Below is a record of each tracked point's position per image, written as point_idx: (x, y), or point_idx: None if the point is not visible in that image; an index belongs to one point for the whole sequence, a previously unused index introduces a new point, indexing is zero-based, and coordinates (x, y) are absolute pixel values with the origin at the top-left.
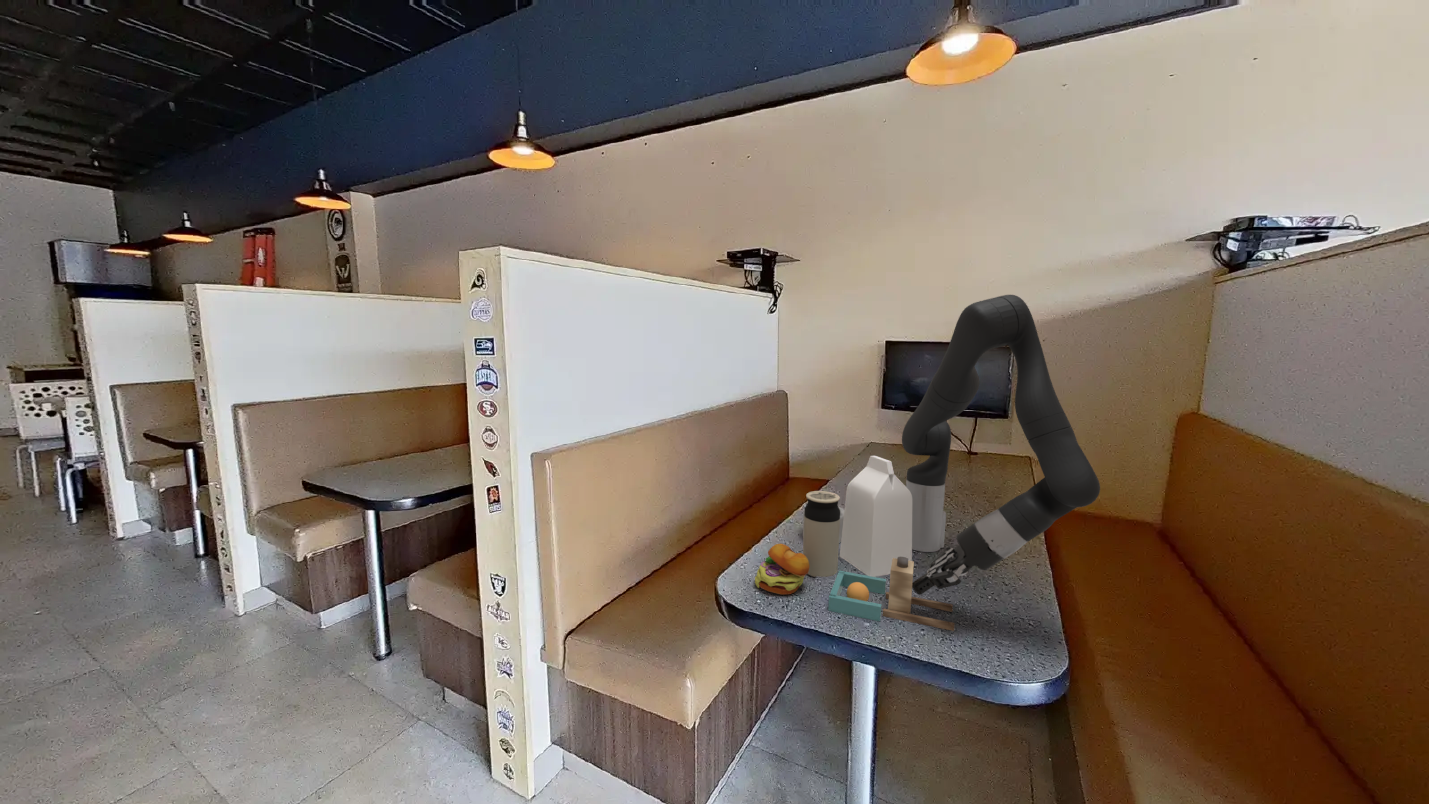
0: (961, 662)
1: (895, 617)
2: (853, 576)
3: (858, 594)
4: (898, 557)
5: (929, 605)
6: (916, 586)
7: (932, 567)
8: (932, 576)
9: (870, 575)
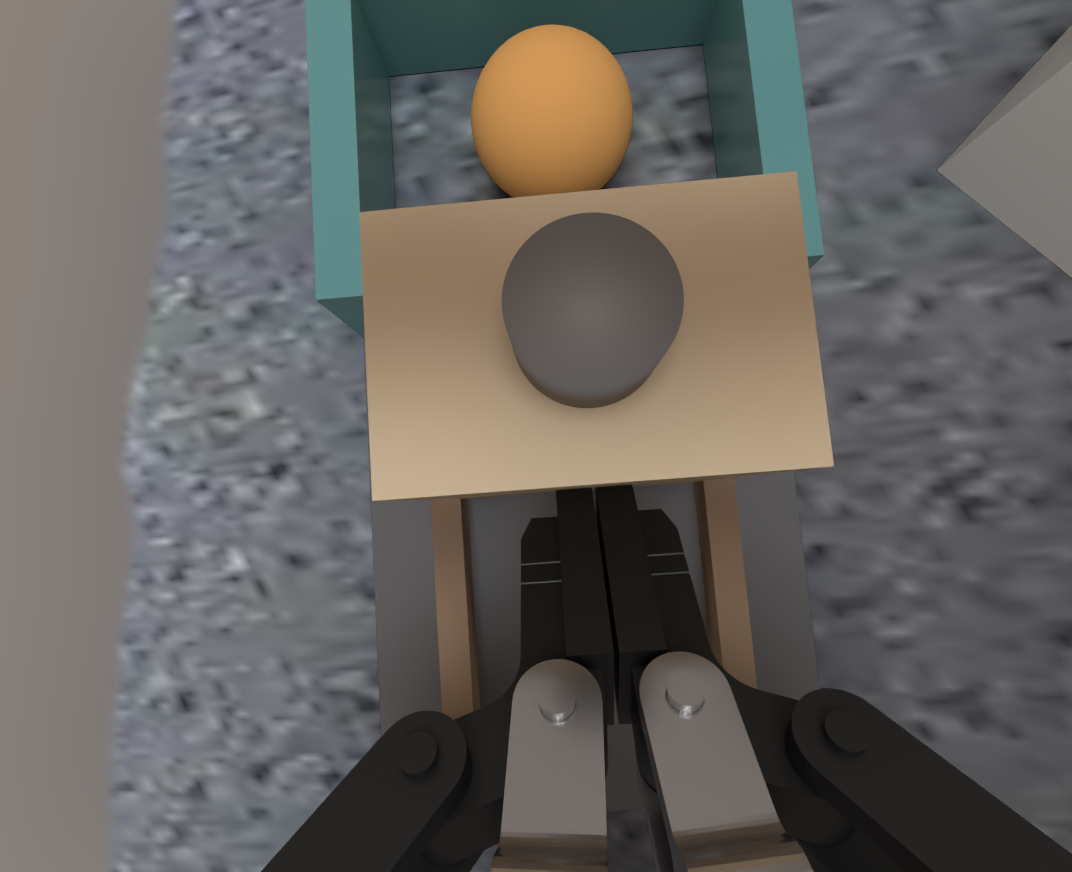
0: (168, 818)
1: None
2: (742, 17)
3: (476, 120)
4: (611, 224)
5: (709, 609)
6: (533, 533)
7: (727, 757)
8: (397, 773)
9: (969, 149)
